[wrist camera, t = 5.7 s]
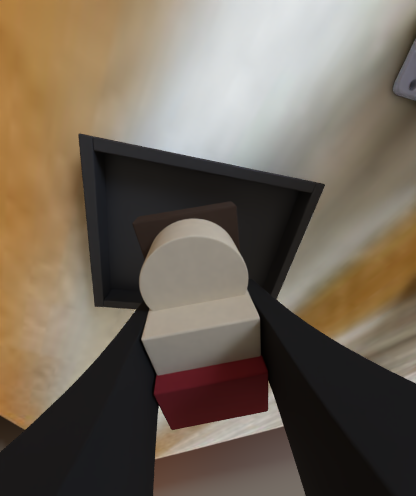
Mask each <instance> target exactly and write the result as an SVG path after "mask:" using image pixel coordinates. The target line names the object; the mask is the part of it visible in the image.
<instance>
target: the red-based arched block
mask: <svg viewBox="0 0 416 496" xmlns="http://www.w3.org/2000/svg"><path fill="white" fill-rule="evenodd" d="M132 225H133V227H134V230H135V233H136V236H137V239H138V242H139V245H140V248H141V251H142V254H143V257H144V259H145V261H144V263H143V266H142V268H141V271H140V276H139V288H140V292H141V295H142V298H143V300H144V302H145V303H146V305H147V306H148V307H149V312H148V316H147V319H146V323H145V327H144V331H143V334H142V338H141V341H142V343H143V345H144V347H145V350H146V352H147V354H148V356H149V358H150V361H151V363H152V365H153V367H154V369H155V372H156V374H157V375H156V379H155V386H154V392H153V394H154V396H155V398H156V400H157V402H158V404H159V406H160V408H161V410H162V412H163V414H164V416H165V418H166V420H167V422H168V424H169V426H170V428H171V429H172V430H175V429H180V428H185V427H190V426H195V425H200V424H205V423H210V422H215V421H220V420H225V419H230V418H236V417H241V416H246V415H251V414H256V413H261V412H266V411H268V369H267V367H266V364H265V361H264V359H263V356H262V355H261V338H260V317H259V314H258V312H257V310H256V308H255V306H254V304H253V301H252V299H251V297H250V295H249V293H248V290H247V286H248V270H247V267H246V264H245V262H244V260H243V258H242V256H241V254H240V246H239V233H238V219H237V207H236V205H235V204H234V203H233V202H231V201H229V202H223V203H217V204H211V205H205V206H199V207H193V208H187V209H181V210H175V211H169V212H163V213H157V214H151V215H145V216H139V217H137V219H136V220H135V221H134V222H133V223H132Z"/></svg>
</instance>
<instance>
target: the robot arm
mask: <svg viewBox="0 0 416 496" xmlns="http://www.w3.org/2000/svg"><path fill="white" fill-rule="evenodd" d="M410 83H411V86H410V89H409V85H410ZM393 91H394V93H395V94H396V95H399V96H402V97H405V98H408V99H411V100H414V101H416V39H415V41H414V43H413V45H412V47H411V49H410V51H409V53H408V56H407V58H406V60H405V62H404V64H403V66H402V68H401V70H400V72H399V75H398V77H397V79H396V81H395V83H394V86H393ZM247 290H248V293H249V295H250V297H251V299H252V301H253V304H254V306H255V308H256V310H257V312H258V314H259V317H260V338H261V355H262V356H263V359H264V361H265V364H266V367H267V369H268V381H269V383H270V386H271V389H272V391H273V394H274V397H275V400H276V403H277V406H278V409H279V412H280V415H281V418H282V422H283V425H284V428H285V431H286V434H287V437H288V440H289V443H290V447H291V450H292V453H293V456H294V459H295V462H296V466H297V469H298V472H299V475H300V479H301V482H302V485H303V488H304V491H305V495H306V496H416V384H415V383H413V382H411V381H409V380H407V379H405V378H403V377H401V376H399V375H397V374H395V373H393V372H391V371H389V370H387V369H385V368H383V367H381V366H379V365H377V364H375V363H374V362H372V361H370V360H368V359H366V358H364V357H363V356H361V355H359V354H357V353H355V352H353V351H352V350H350V349H348V348H346V347H344V346H343V345H341V344H339V343H338V342H336V341H334V340H333V339H331V338H329V337H328V336H326V335H325V334H323V333H321V332H320V331H318V330H317V329H315V328H314V327H312V326H311V325H309V324H308V323H306V322H305V321H303V320H302V319H301V318H299V317H298V316H296V315H295V314H294V313H292V312H291V311H290V310H288V309H287V308H286V307H285V306H283V305H282V304H281V303H280V302H278V301H277V300H276V299H275V298H273V297H272V296H271V295H270V294H269V293H268V292H266V291H265V290H264V289H263V288H262V287H261V286H260V285H258V284H257V283H256V282H255V281H254V280H253V279H248V286H247ZM148 312H149V307H148V306H147V305H146V303H145V302H144V300H143V302H142V303H141V304H140V306H139V307H138V308H137V310H136V311H135V312H134V314H133V315H132V316H131V318H130V319H129V320H128V322H127V323H126V324H125V325H124V327H123V328H122V329H121V330H120V332H119V333H118V334H117V336H116V337H115V338H114V339H113V340H112V342H111V343H110V344H109V345H108V346H107V347H106V349H105V350H104V351H103V352H102V353H101V355H100V356H99V357H98V358H97V359H96V360H95V361H94V363H93V364H92V365H91V366H90V367H89V368H88V369H87V370H86V371H85V372H84V373H83V374H82V375H81V376H80V378H79V379H78V380H77V381H76V382H75V383H74V384H73V385H72V386H71V387H70V388H69V389H68V390H67V391H66V392H65V393H64V394H63V395H62V396H61V397H60V398H59V399H58V400H56V401H55V402H54V403H53V404H52V405H51V406H50V407H49V408H48V409H47V410H46V411H45V412H44V413H43V414H42V415H41V416H40V417H39V418H38V419H37V420H35V421H34V422H33V423H32V424H31V425H30V426H29V427H28V428H27V429H26V430H25V431H24V432H22V433H21V434H20V435H19V436H18V437H17V438H16V439H15V440H13V441H12V442H11V443H10V444H9V445H8V446H7V447H6V448H4V449H3V450H2V451H1V452H0V496H153V482H154V462H155V447H156V432H157V418H158V408H159V404H158V402H157V400H156V398H155V396H154V394H153V392H154V386H155V379H156V375H157V374H156V372H155V369H154V367H153V365H152V363H151V361H150V358H149V356H148V354H147V352H146V350H145V347H144V345H143V343H142V341H141V338H142V334H143V331H144V327H145V323H146V319H147V316H148Z"/></svg>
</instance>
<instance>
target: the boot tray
mask: <svg viewBox="0 0 416 496" xmlns="http://www.w3.org/2000/svg"><path fill="white" fill-rule="evenodd" d="M79 146H80V156H81V167H82V177H83V188H84V198H85V209H86V219H87V230H88V240H89V251H90V261H91V272H92V282H93V293H94V303H95V307H112V308H127V309H137V308H138V307H139V306H140V304H141V303H142V302H143V298H142V295H141V292H140V288H139V276H140V271H141V268H142V266H143V263H144V261H145V259H144V257H143V254H142V251H141V248H140V245H139V242H138V239H137V236H136V233H135V230H134V227H133V225H132V223H133V222H134V221H135V220H136V219H137V217H139V216H145V215H151V214H157V213H163V212H169V211H175V210H181V209H187V208H193V207H199V206H205V205H211V204H217V203H223V202H229V201H231V202H233V203H234V204H235V205H236V207H237V219H238V233H239V246H240V254H241V256H242V258H243V260H244V262H245V264H246V267H247V270H248V279H253V280H254V281H255V282H256V283H257V284H258V285H260V286H261V287H262V288H263V289H264V290H265V291H266V292H268V293H269V294H270V295H271V296H272V297H273V298H275V299H277V296H278V294H279V292H280V289H281V287H282V285H283V282H284V280H285V278H286V275H287V273H288V271H289V268H290V266H291V264H292V261H293V259H294V257H295V254H296V252H297V250H298V247H299V245H300V243H301V240H302V238H303V235H304V233H305V231H306V228H307V226H308V224H309V221H310V219H311V217H312V214H313V212H314V210H315V207H316V205H317V203H318V200H319V198H320V196H321V193H322V191H323V189H324V186H325V184H321V183H316V182H312V181H307V180H302V179H297V178H292V177H287V176H283V175H278V174H273V173H268V172H263V171H258V170H254V169H249V168H244V167H239V166H234V165H229V164H225V163H220V162H215V161H210V160H205V159H200V158H195V157H191V156H186V155H181V154H176V153H171V152H166V151H162V150H157V149H152V148H147V147H142V146H137V145H132V144H128V143H123V142H118V141H113V140H108V139H103V138H99V137H93V136H89V135H84V134H79Z"/></svg>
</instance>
